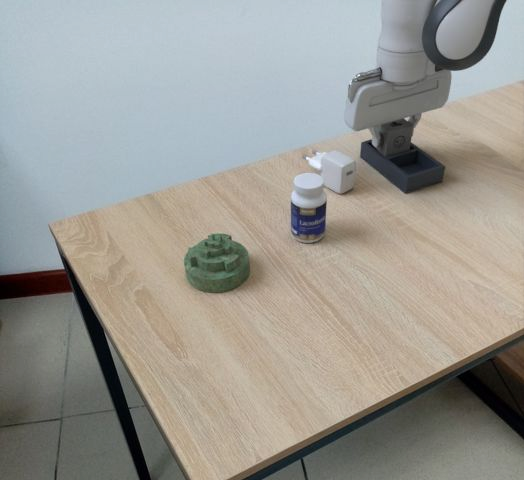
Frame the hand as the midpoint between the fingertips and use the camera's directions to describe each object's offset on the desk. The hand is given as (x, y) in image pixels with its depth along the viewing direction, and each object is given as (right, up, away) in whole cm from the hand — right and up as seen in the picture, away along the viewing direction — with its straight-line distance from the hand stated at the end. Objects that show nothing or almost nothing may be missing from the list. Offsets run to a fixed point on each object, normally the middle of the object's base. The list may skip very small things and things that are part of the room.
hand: (392, 140), depth 100 cm
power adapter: (-12, -8, -1) cm, 15 cm away
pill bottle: (-17, -20, -11) cm, 29 cm away
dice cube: (0, -1, +1) cm, 2 cm away
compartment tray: (+2, -5, +1) cm, 5 cm away
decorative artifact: (-32, -27, -17) cm, 45 cm away
